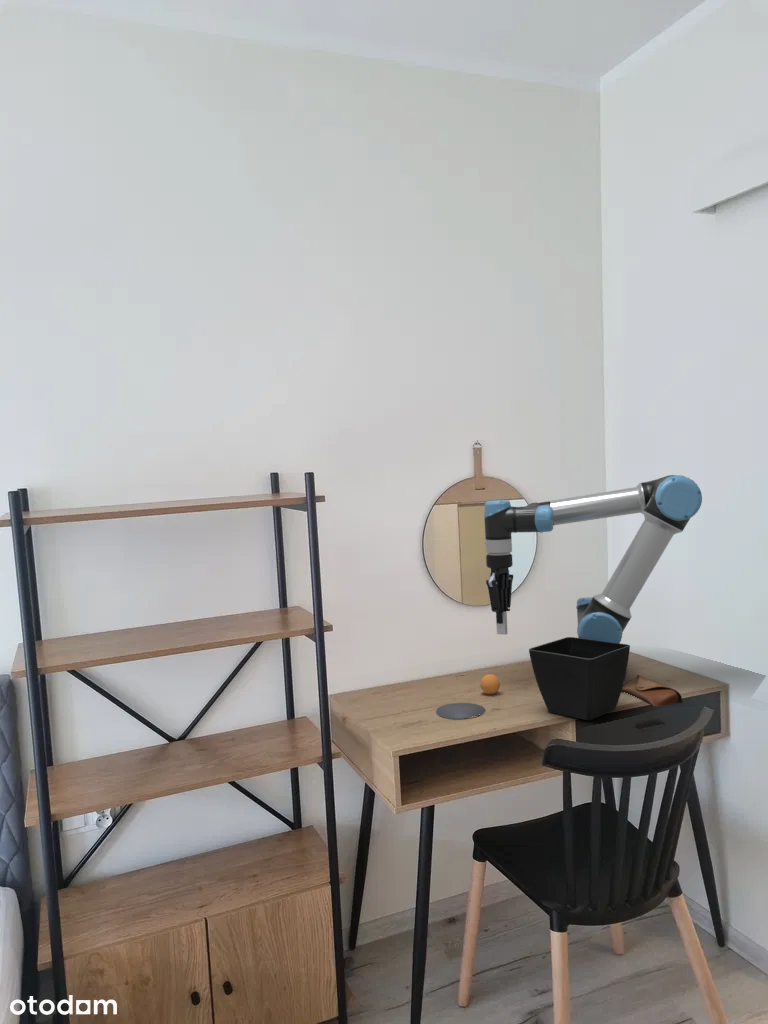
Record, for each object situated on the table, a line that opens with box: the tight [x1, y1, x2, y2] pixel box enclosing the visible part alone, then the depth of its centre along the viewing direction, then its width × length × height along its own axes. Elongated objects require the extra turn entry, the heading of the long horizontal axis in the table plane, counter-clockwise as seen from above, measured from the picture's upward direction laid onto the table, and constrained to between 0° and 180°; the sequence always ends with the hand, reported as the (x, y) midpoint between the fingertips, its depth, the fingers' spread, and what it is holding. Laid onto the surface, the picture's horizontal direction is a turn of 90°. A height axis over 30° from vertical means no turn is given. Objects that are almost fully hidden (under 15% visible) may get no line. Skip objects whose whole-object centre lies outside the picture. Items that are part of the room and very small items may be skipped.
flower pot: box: [528, 636, 631, 721], centre depth 196 cm, size 19×19×17 cm
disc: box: [435, 702, 486, 720], centre depth 201 cm, size 13×13×1 cm
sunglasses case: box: [621, 674, 683, 708], centre depth 205 cm, size 18×7×7 cm
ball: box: [479, 673, 501, 695], centre depth 215 cm, size 6×6×6 cm
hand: (502, 633), depth 222 cm, fingers closed
